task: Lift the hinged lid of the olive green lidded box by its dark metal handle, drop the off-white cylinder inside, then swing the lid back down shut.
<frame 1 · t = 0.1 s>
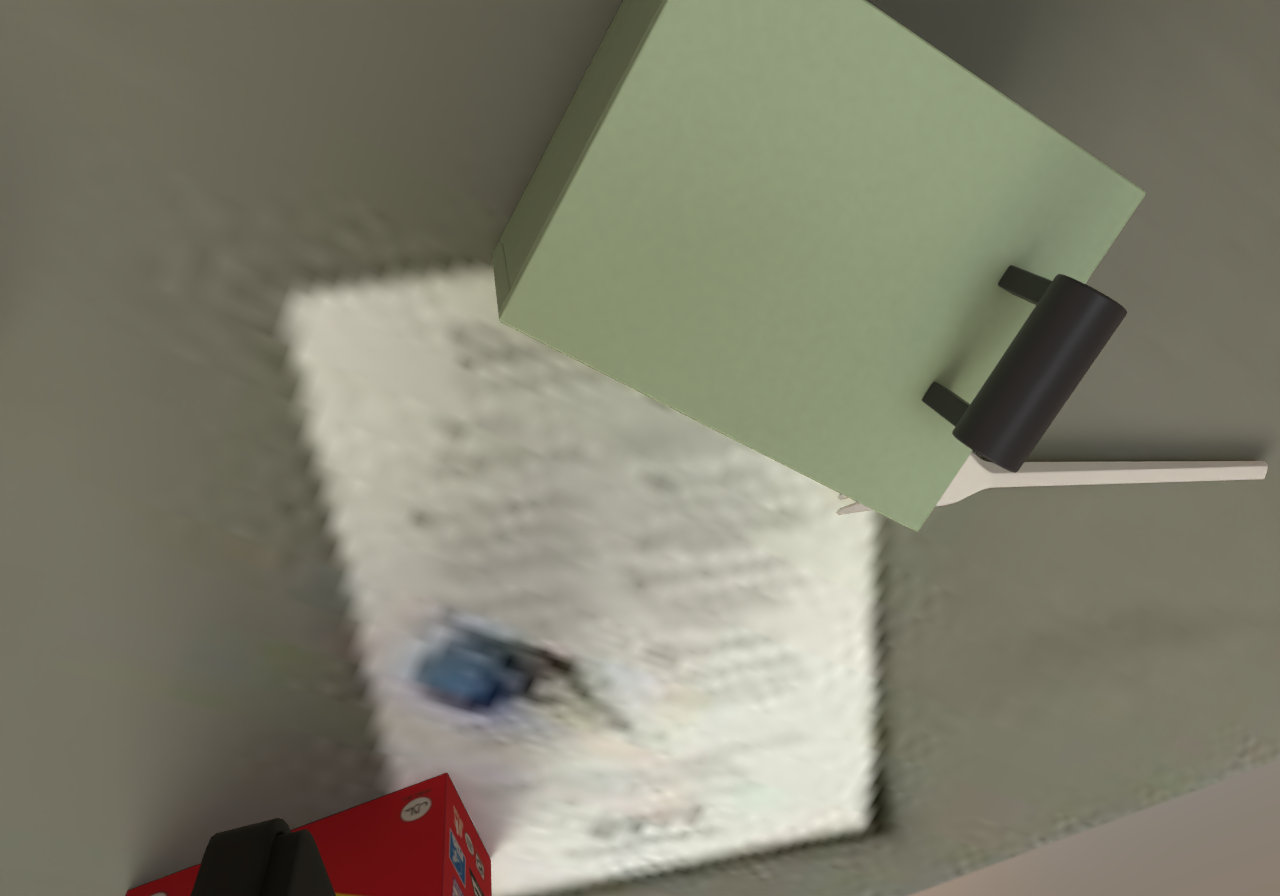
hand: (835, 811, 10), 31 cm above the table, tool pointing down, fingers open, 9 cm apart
food packaging: (314, 871, 47), on the table
fork: (1046, 466, 45), on the table
box lid: (855, 268, 28), point 12 cm above the table, hinge at 0.0°
olive green lidded box: (735, 201, 39), on the table
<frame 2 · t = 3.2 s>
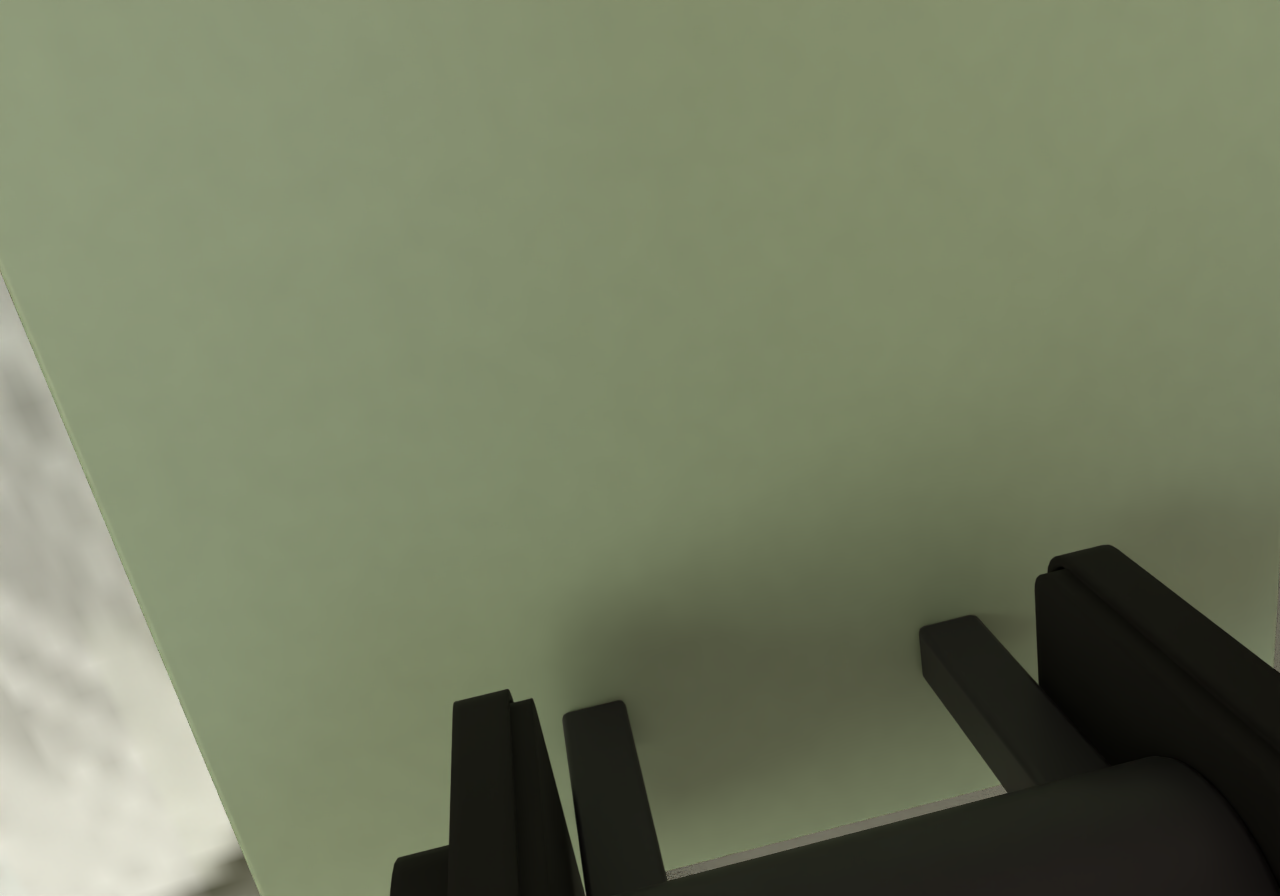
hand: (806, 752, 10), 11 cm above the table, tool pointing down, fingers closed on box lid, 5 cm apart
box lid: (755, 251, 8), point 12 cm above the table, hinge at 0.0°, touching gripper
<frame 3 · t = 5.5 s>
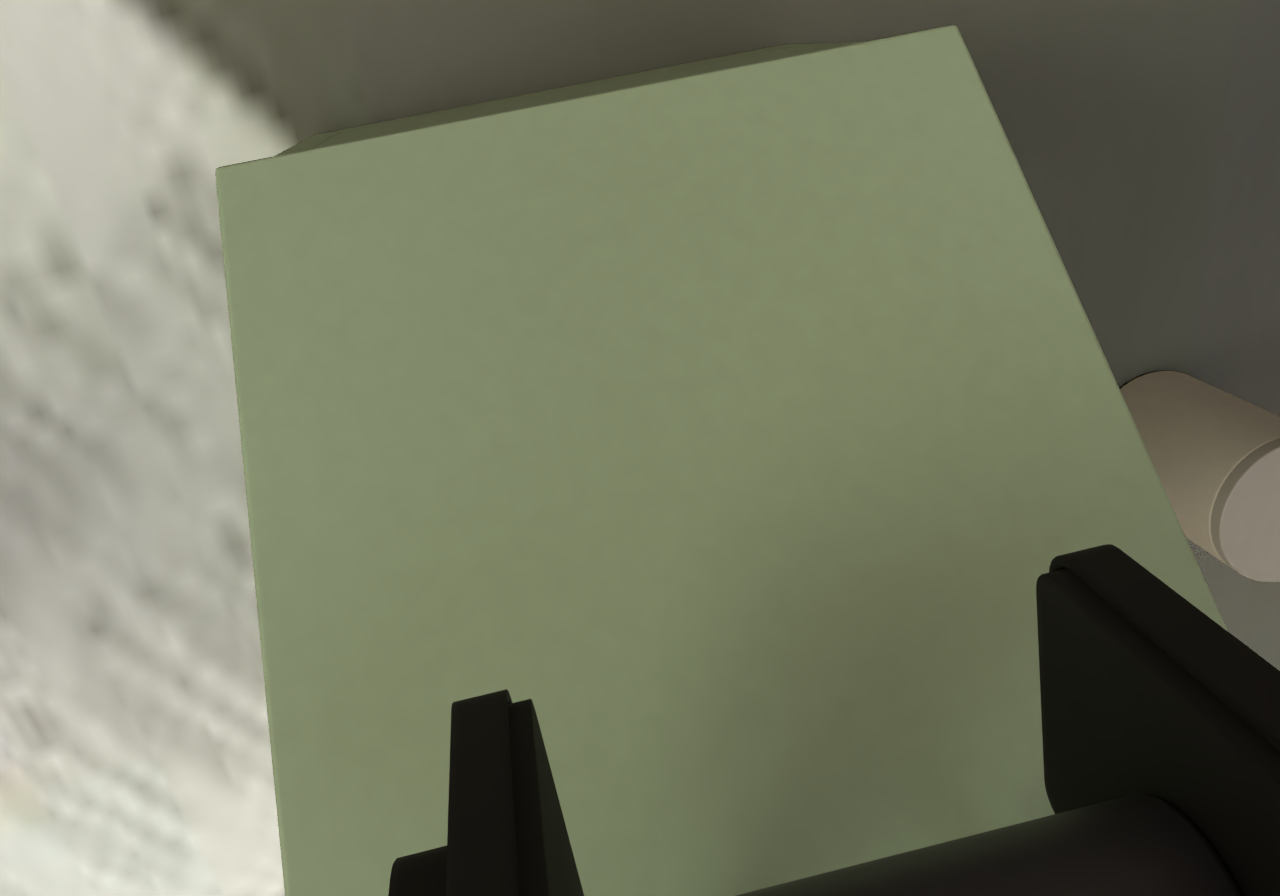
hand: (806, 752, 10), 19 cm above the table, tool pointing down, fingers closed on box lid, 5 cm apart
box lid: (723, 475, 12), point 17 cm above the table, hinge at 43.6°, touching gripper
olive green lidded box: (606, 356, 29), on the table
off-white cylinder: (1151, 432, 32), on the table
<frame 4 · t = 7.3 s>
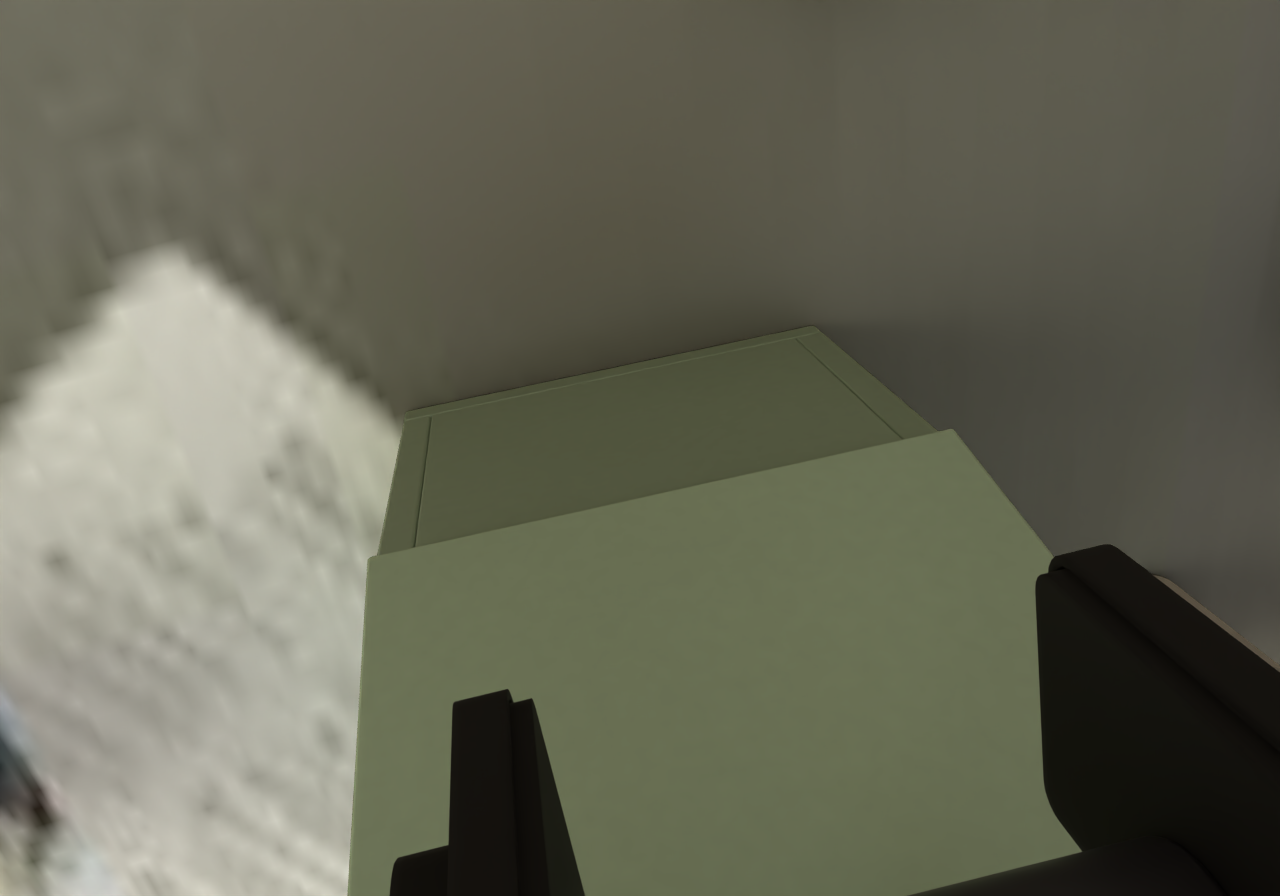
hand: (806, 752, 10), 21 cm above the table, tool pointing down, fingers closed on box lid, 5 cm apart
box lid: (757, 699, 14), point 18 cm above the table, hinge at 77.4°, touching gripper
olive green lidded box: (652, 577, 33), on the table
off-white cylinder: (1131, 625, 36), on the table
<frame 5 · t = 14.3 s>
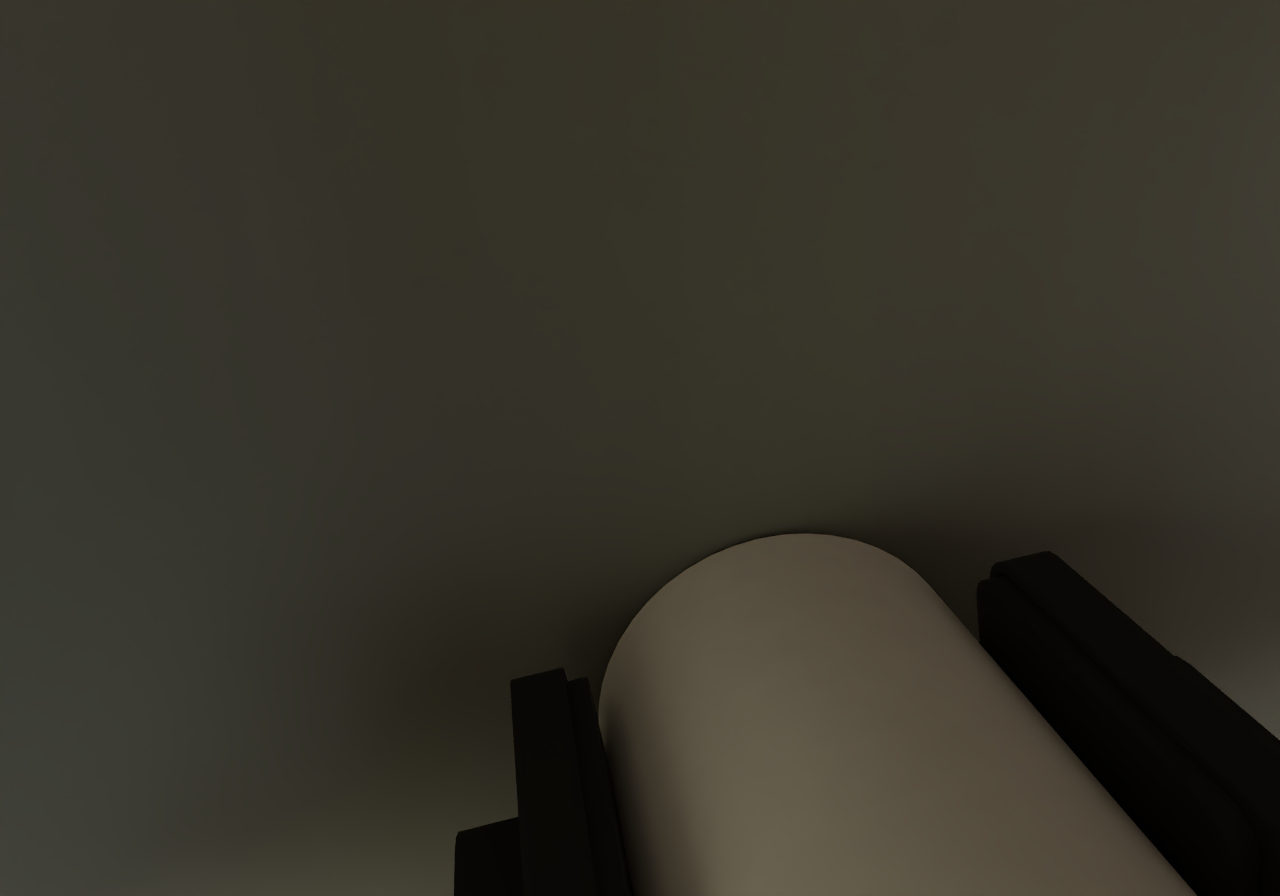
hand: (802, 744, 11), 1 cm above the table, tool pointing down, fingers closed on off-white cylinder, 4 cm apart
off-white cylinder: (781, 698, 11), on the table, touching gripper
when the fingers open (8 cm above the table, at t = 21.7 s): off-white cylinder drops 7 cm, resting on olive green lidded box.
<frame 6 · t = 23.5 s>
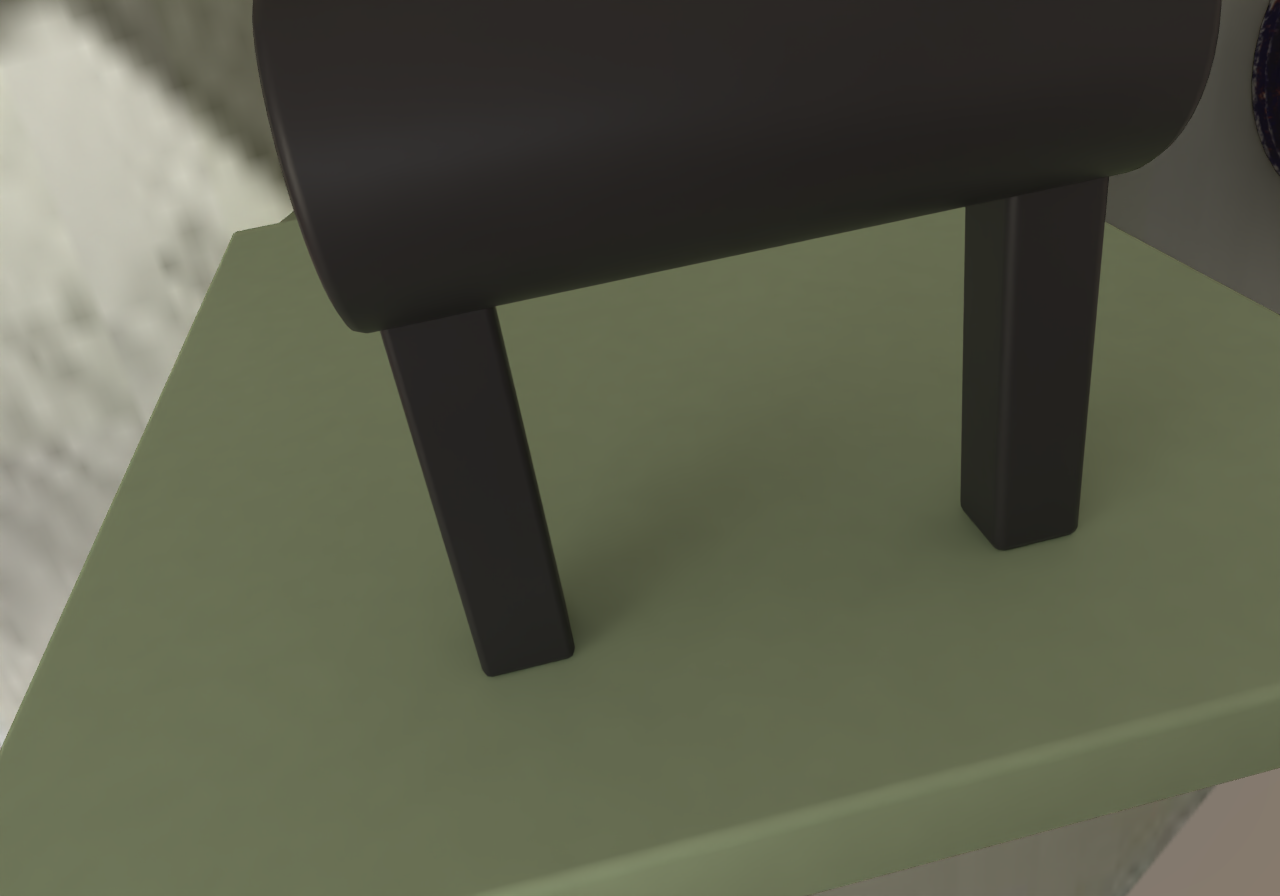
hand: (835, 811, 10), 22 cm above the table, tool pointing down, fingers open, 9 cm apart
box lid: (621, 158, 12), point 18 cm above the table, hinge at 79.8°
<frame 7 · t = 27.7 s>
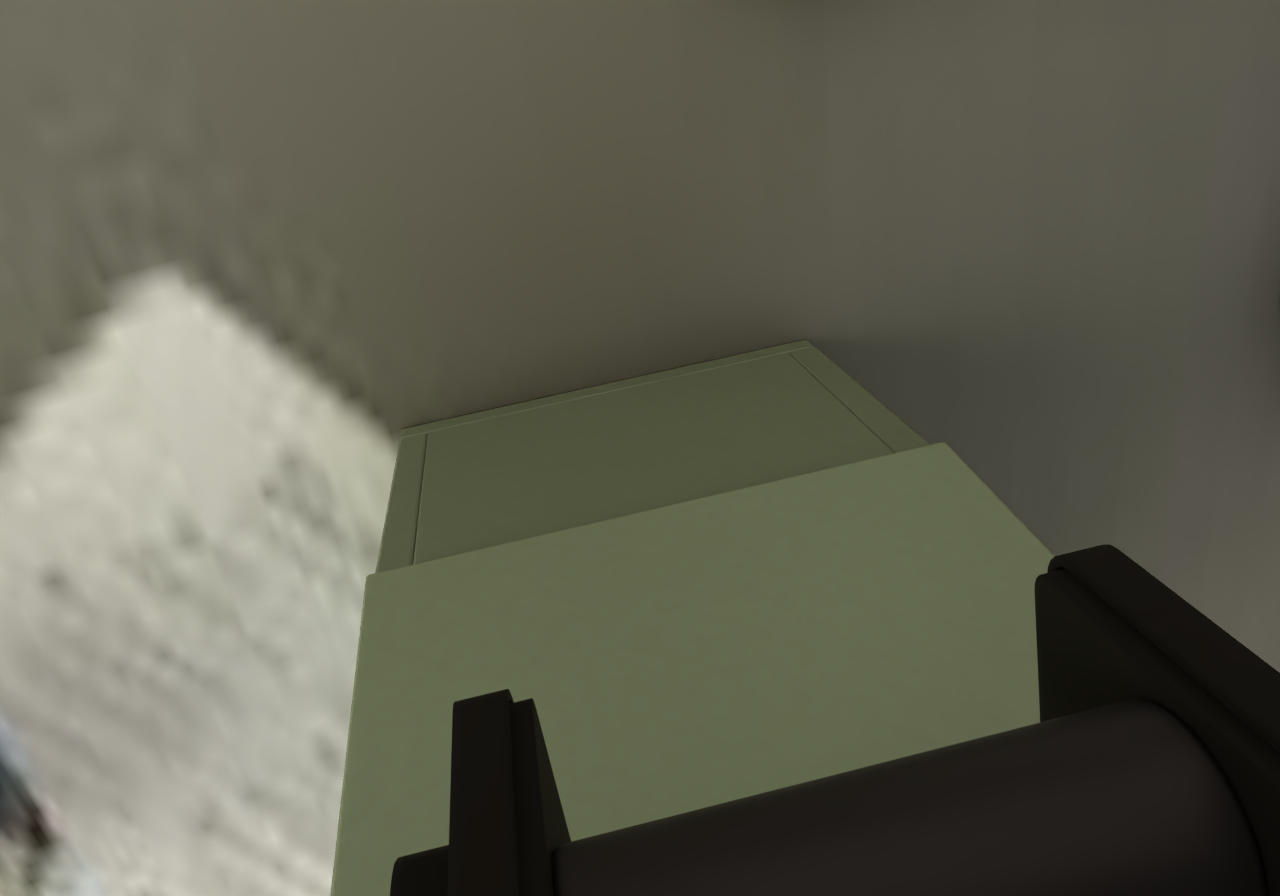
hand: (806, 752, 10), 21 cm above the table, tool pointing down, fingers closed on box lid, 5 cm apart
box lid: (743, 659, 14), point 17 cm above the table, hinge at 83.6°, touching gripper
olive green lidded box: (649, 591, 33), on the table
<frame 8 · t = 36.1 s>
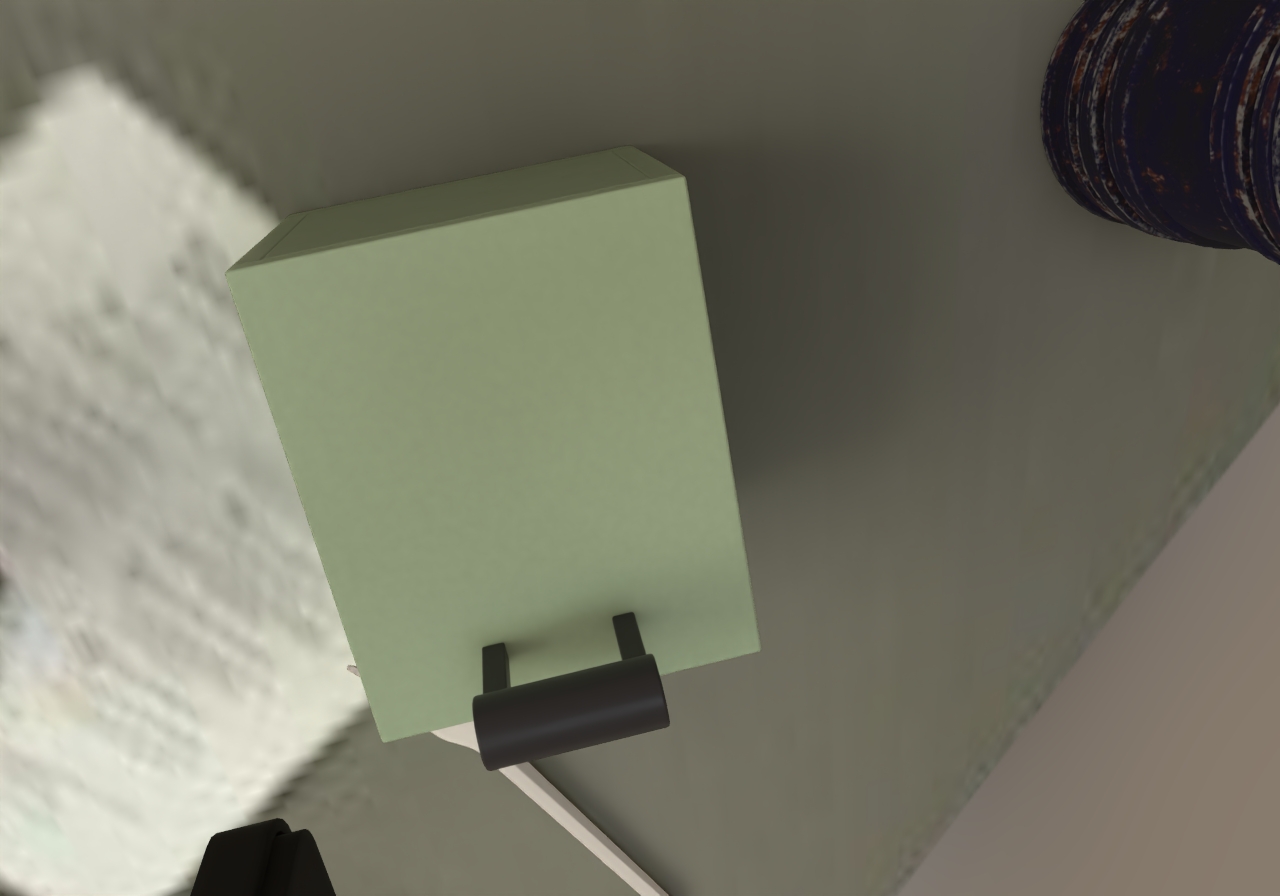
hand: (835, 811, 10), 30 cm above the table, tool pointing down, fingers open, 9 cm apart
fork: (532, 771, 46), on the table
dark blue disc stack: (1158, 94, 39), on the table
box lid: (525, 511, 28), point 12 cm above the table, hinge at -0.2°, touching olive green lidded box
olive green lidded box: (507, 369, 39), on the table
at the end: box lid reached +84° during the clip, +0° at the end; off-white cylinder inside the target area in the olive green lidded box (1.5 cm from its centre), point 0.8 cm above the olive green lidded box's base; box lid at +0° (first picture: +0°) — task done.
